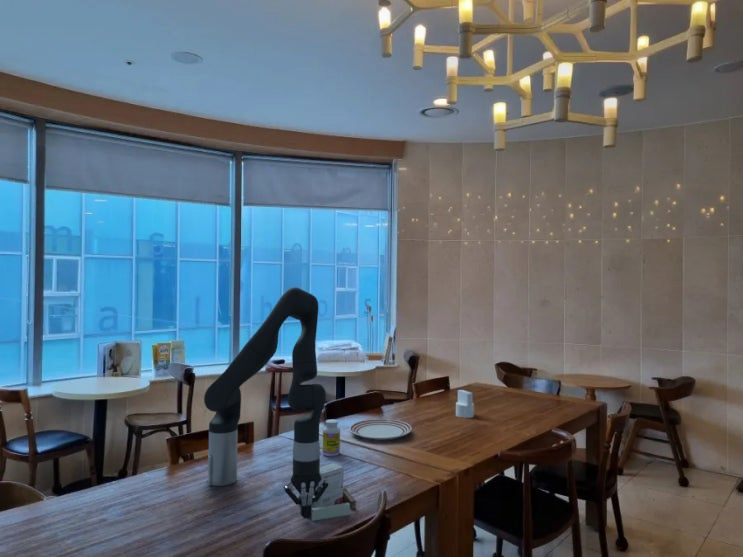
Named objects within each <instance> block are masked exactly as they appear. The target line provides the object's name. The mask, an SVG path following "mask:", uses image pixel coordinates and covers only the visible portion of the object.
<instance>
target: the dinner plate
mask: <svg viewBox="0 0 743 557" xmlns="http://www.w3.org/2000/svg"><path fill="white" fill-rule="evenodd" d="M349 431H350V432H351V433H352V434H353V435H356V436H359V437H361V438H364V439H367V438H368V439H367V440H371V439H374V440H373V441H389V440H388V439H391V440H395V438H396V439H399V438H402V437H403V436H407V435H408V434H409V433H410V432H412V425H411V424H409V423H407V422H405V421H402V420H397V419H388V418H372V419H371V418H369V419H365V420H360V421H356V422H354V423H353V424H351V425H350V426H349Z"/></svg>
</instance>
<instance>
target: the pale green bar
mask: <svg viewBox="0 0 743 557" xmlns="http://www.w3.org/2000/svg"><path fill="white" fill-rule="evenodd" d="M350 512H351V509H350V504H349V503H345V502H343V504H337V505H330V506H324V507H317V508H312V507H311V521H312V522H313V521H315V522H316V521H320V520H327V519H332V518H337V517H344V516H350V514H351V513H350Z"/></svg>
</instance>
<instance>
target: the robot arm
mask: <svg viewBox="0 0 743 557" xmlns="http://www.w3.org/2000/svg"><path fill="white" fill-rule="evenodd" d="M289 317H290V318H293V319H295V320H298V321H300V325H301V333H300V334H299V337H298V339H297V341H296V342H295V344H294V346H293V348H292V354H291V357H292V358H291V360H292V361H291V362H292V363H291V364H292V379H291V383H290V388H289V391H288V396H287V404H288V406H289V408H291V409H292V410H293V411H295V412H297V411H298V412H299V411H311V412H310V413H309V414H308V415H305V416H301V417H299V418H297V419H296V420H295V421H294V424H293V447H292V476H291V478H290V482H289V483H287V484H284V485H283V490H284V492H285V494H287V496H288V497H289V498H290V499H291V500H292V502H294V504H295V505H297V506H298V505H299V507H300V515H301V517H302V518H303V519H304V520H307V519H310V517H312V503H314V502H317V501H318V500H319V498H320V497H321V496H322V494H323V493H324V491H325V490H326V488H327V487H328V483H327V482H326V480H323V479H321V476H320V467H321V464H320V461H321V456H320V455H321V445H320V424H321V417H322V413H323V409H324V406H325V403H326V399H327V392H326V389H325V386H323V385H322V384H319V383H314V384H313V383H312V384H309V383H308V384H302V383H306V382H309V381H311V380H314V379H315V378H316V377H317V375H318V364H317V353H316V349H317V348H316V343H317V342H316V340H317V329H318V317H319V301H318V299H317V297H316V296H315V295H313V294H312V293H310V292H308V291H305V290H304V289H301V288H299V287H298V286H291V287H290V288H288V289H286V291H284V293H283V294H282V295H281V296H280V298H279V299H278V300H277V302H276V304H275V305H274V307H273V308H272V310H271V311H270V313H269V315H268V316H267V317H266V319H265V320H264V321H263V323H262V324H261V325H260V326H259V328H258V329H257V330H256V332H254V334H253V335H251V337H250V338H249V340H248V341H247V343H245V344H244V346H243V347H242V349H241V350H240V351H239V352H238V354H237V355H236V356H235V357H234V359H232V361H231V363H230V364H229V366H227V368H226V369H225V370H224V371H223V372H222V373H221V375H220V376H218V378H216V380H214V381H213V383H211V385H209V386H208V387H207V389H206V391H205V392H204V396H203V397H204V398H203V400H204V401H203V402H204V405H205V408H206V409H207V410H209V411H210V412H215V415H214V416H213V417H212V418H211V420H210V421H209V423H208V452H207V482H208V486H209V487H211V486H214V487H215V486H216V487H224V486H228V485H232V484H234V483H236V482H237V480H238V426H239V421H240V419H241V407H242V392H241V388H240V387H241V386H242V385H243V384H245V383H246V382H247V381H248V380H249V379H251V378H253V376H255V375H256V374H257V373H259V372H260V371H261V370H262V369H263V368H264V367H265V366H266V365H267V364H268V363H269V362H270V360H271V359H272V358H273V356H274V355H275V354H276V352H277V349H278V344H279V332H280V330H281V327H282V326H283V324H284V322H285V321H286V320H287V319H288V318H289ZM318 484H319V487H318V488H317V490H316V491H315V492H314V494H313V491H314V490H315V488H316V487H317V485H318ZM293 487H294V488H295V489H296V491H297V492H298V493H299V494H298V496H299V495H300V498H299V497H297V495H296V494H295V493H294V488H293Z"/></svg>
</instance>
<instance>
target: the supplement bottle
mask: <svg viewBox="0 0 743 557" xmlns="http://www.w3.org/2000/svg"><path fill="white" fill-rule="evenodd" d="M338 423H339V420H337V419H333V418H332V419H326V420H325V427H324V428H323V430H322V454H323V455H324V456H325V457H326V456H327V457H336V456H338V455H340V452H341V450H340V448H341V428H340V427H339V426H338Z"/></svg>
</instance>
